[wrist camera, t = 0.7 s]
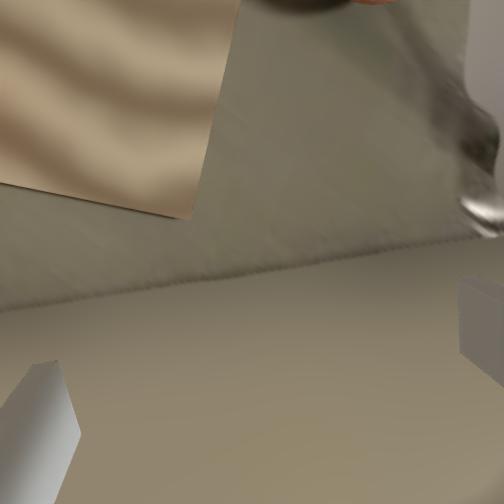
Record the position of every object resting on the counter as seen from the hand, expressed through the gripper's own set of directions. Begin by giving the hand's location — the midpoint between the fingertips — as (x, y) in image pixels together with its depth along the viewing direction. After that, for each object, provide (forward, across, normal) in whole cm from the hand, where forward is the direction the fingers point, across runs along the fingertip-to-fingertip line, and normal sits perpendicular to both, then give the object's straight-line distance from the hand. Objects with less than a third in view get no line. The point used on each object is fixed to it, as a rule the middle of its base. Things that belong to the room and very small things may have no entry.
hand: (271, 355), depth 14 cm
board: (+22, -7, +12) cm, 26 cm away
